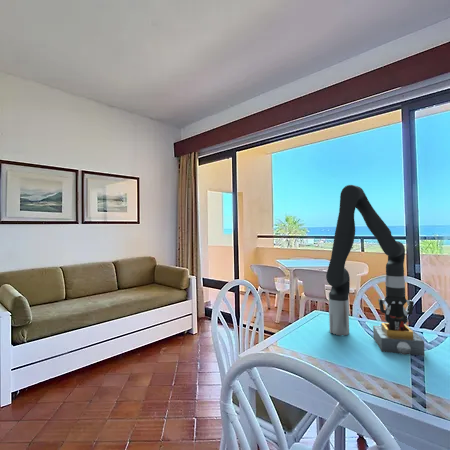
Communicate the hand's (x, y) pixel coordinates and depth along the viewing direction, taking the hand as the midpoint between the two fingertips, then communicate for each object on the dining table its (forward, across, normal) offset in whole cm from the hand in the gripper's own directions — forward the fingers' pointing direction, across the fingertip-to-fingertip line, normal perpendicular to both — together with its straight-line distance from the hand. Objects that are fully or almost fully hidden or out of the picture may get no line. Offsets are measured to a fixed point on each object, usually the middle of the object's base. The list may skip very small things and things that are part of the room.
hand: (396, 322), depth 129 cm
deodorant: (+6, 0, 0) cm, 6 cm away
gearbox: (+10, 0, 0) cm, 10 cm away
